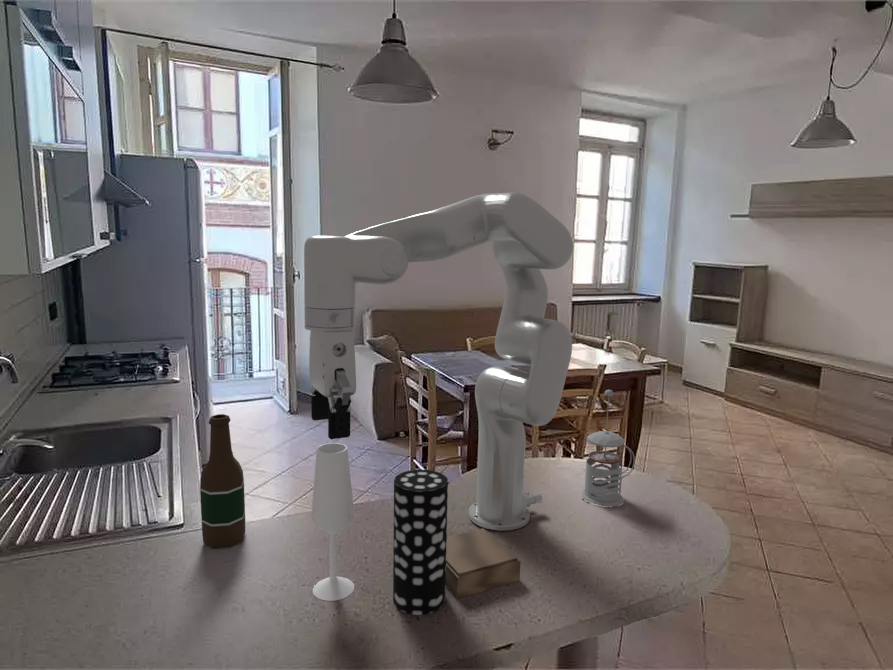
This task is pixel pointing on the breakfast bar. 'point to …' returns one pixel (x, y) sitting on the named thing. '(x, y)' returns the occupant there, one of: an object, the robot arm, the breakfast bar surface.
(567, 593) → the breakfast bar surface
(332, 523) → the champagne flute
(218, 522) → the beer bottle
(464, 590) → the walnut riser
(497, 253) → the robot arm
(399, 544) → the spotted tube
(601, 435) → the french press
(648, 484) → the breakfast bar surface
